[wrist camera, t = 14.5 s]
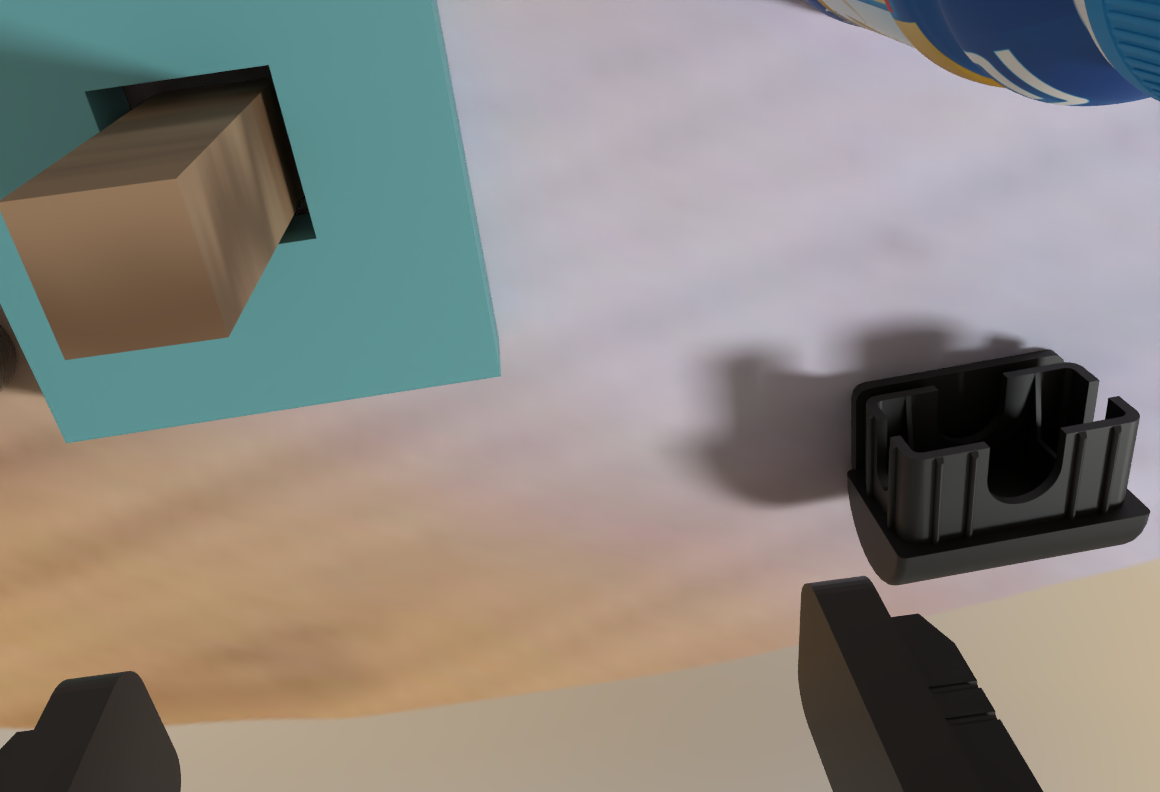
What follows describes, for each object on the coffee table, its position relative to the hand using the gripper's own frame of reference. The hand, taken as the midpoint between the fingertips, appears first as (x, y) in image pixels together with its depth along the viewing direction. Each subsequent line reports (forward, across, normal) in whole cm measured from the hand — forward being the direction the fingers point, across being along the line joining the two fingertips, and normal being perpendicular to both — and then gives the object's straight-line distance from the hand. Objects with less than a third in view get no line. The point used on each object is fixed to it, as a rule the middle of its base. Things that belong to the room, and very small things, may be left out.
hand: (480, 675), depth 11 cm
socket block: (+25, +9, -1) cm, 26 cm away
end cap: (+25, -19, +16) cm, 35 cm away
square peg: (+25, +8, -1) cm, 26 cm away
